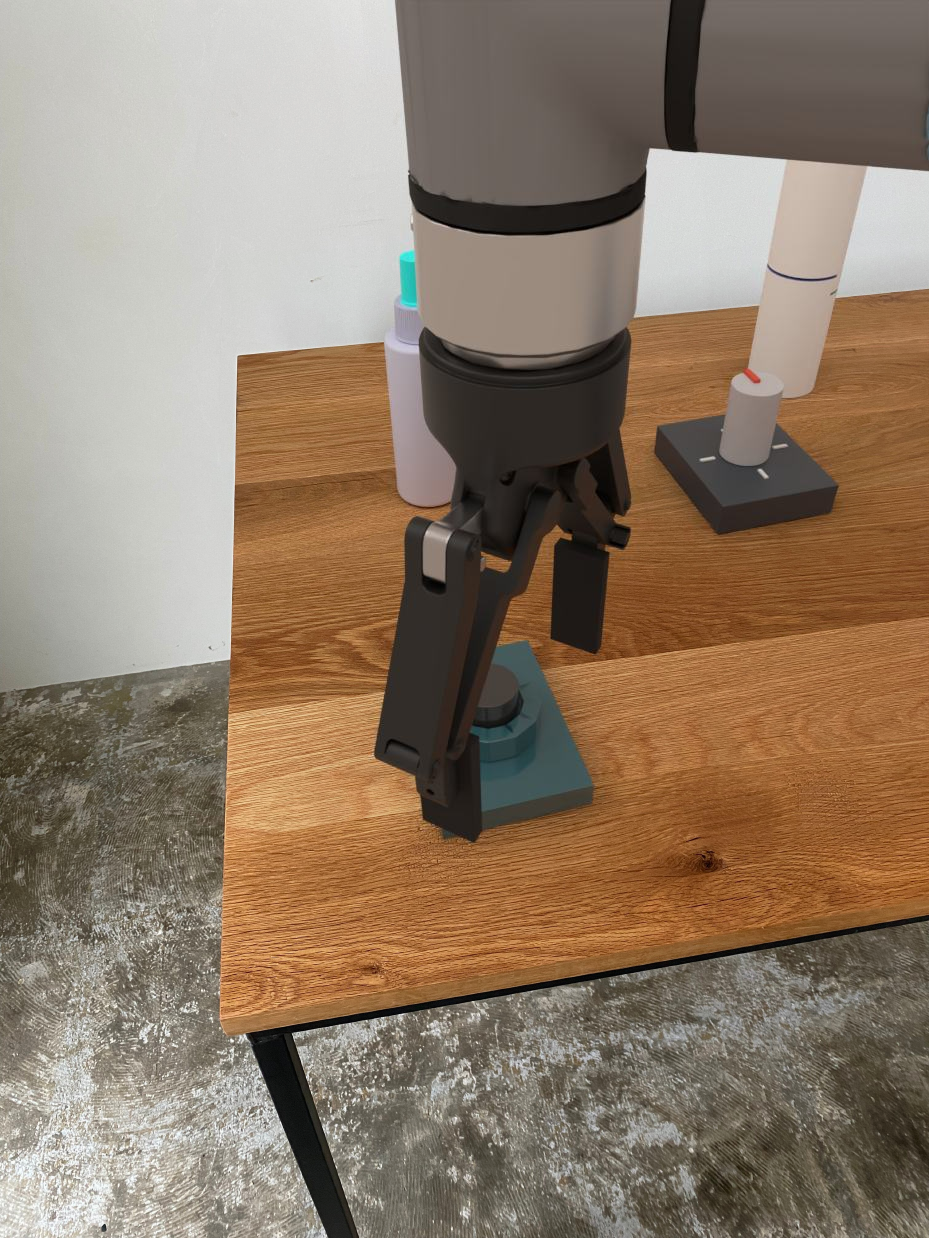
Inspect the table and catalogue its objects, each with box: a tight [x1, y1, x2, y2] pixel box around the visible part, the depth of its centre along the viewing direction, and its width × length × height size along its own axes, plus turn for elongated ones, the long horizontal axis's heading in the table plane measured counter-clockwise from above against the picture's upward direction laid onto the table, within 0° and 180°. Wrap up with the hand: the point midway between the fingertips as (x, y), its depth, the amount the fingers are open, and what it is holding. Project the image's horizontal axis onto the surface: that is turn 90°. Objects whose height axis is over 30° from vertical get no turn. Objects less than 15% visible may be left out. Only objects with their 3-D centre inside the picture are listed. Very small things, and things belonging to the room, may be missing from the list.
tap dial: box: [719, 368, 784, 466], centre depth 83 cm, size 4×4×7 cm
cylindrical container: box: [747, 160, 868, 399], centre depth 93 cm, size 7×7×25 cm
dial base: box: [653, 413, 840, 535], centre depth 86 cm, size 14×11×3 cm
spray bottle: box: [383, 249, 456, 508], centre depth 80 cm, size 6×6×22 cm
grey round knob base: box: [438, 639, 595, 840], centre depth 63 cm, size 14×10×4 cm
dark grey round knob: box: [472, 663, 518, 728], centre depth 62 cm, size 4×4×2 cm
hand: (519, 726), depth 47 cm, fingers open, 13 cm apart
